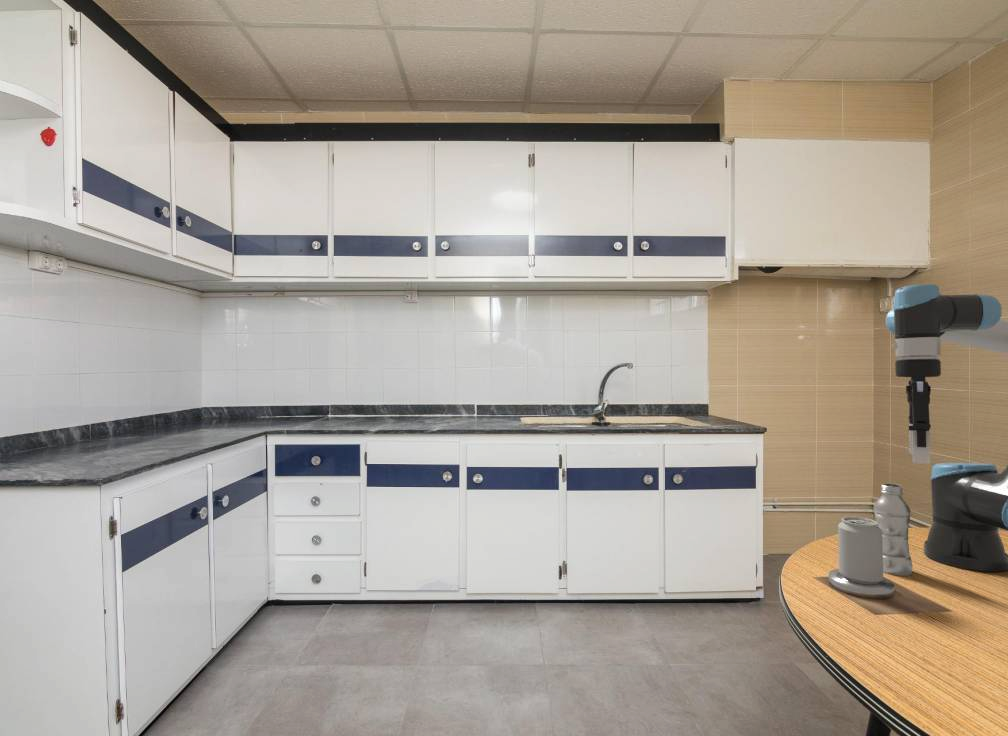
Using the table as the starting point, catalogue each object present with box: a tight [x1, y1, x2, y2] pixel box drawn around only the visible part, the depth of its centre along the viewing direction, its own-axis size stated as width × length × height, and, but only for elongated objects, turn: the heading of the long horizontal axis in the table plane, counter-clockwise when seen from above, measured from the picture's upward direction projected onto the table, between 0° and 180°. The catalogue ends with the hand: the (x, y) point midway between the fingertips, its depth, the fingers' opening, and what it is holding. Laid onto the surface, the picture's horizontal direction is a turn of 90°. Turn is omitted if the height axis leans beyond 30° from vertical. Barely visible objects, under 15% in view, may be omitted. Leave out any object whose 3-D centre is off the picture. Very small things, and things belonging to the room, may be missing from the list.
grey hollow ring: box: [828, 568, 894, 600], centre depth 104 cm, size 11×11×2 cm
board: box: [812, 576, 953, 616], centre depth 102 cm, size 15×17×1 cm
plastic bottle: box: [873, 483, 914, 577], centre depth 113 cm, size 6×7×20 cm
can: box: [837, 516, 884, 585], centre depth 105 cm, size 8×8×12 cm
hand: (919, 458), depth 109 cm, fingers open, 13 cm apart
